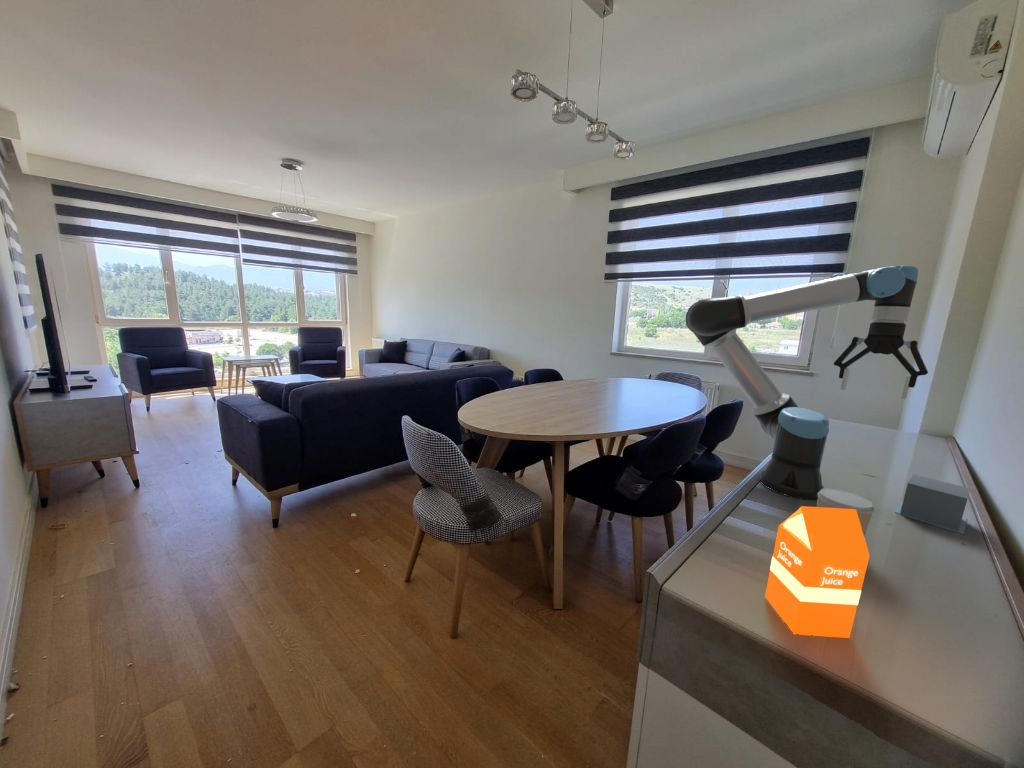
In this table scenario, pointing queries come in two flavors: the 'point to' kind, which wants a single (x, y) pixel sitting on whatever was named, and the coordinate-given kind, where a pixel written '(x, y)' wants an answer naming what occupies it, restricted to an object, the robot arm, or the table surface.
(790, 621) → the orange juice
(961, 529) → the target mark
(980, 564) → the table surface
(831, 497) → the coffee cup
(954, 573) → the table surface
